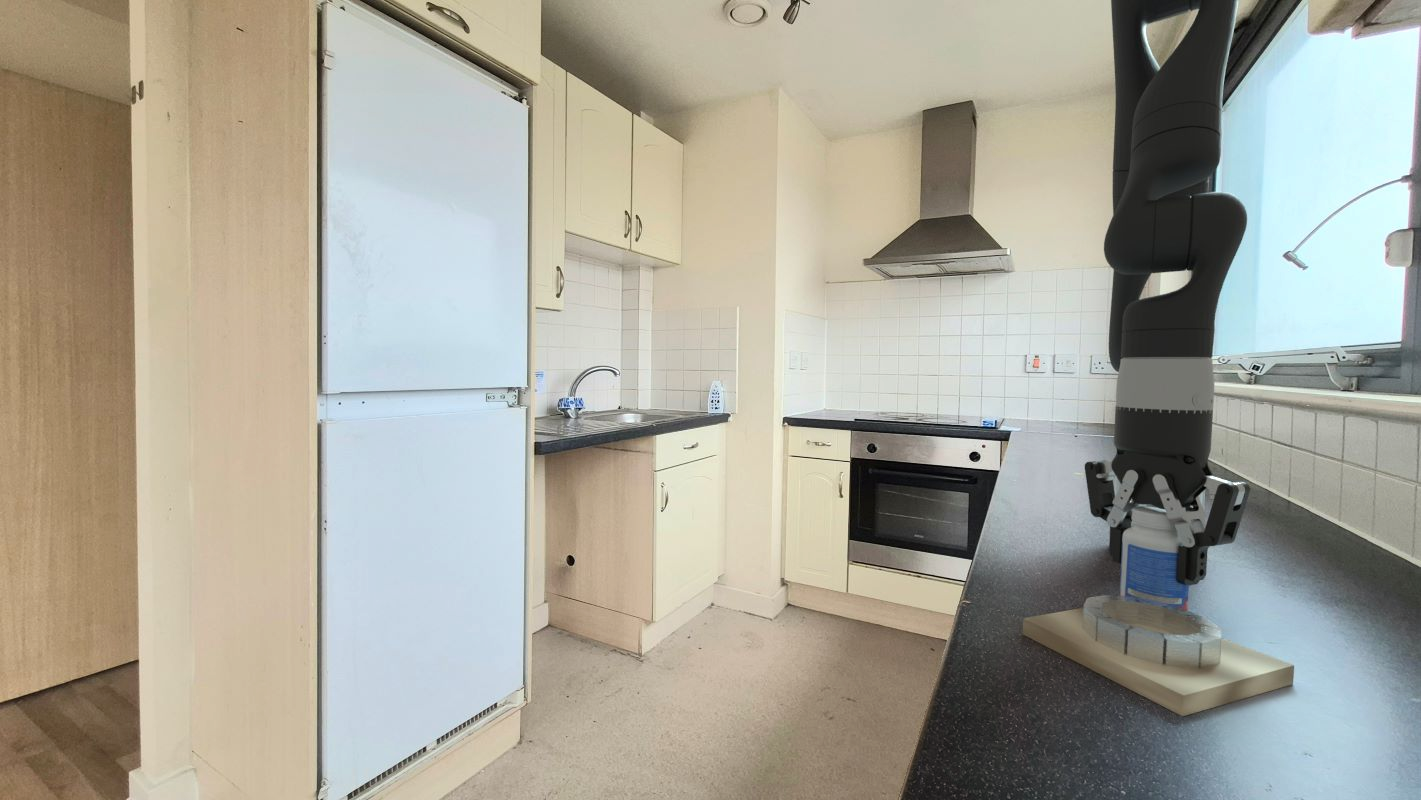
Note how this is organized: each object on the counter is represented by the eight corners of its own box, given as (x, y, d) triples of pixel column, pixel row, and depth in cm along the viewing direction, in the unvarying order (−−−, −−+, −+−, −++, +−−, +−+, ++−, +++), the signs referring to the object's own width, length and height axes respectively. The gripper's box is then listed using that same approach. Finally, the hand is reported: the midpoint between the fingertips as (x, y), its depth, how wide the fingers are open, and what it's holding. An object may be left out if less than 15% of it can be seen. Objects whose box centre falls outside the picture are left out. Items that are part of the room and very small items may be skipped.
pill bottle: (1200, 621, 54) (1207, 519, 53) (1136, 615, 55) (1142, 516, 54) (1166, 598, 59) (1172, 505, 58) (1108, 593, 60) (1113, 503, 60)
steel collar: (1129, 611, 53) (1130, 590, 53) (1246, 656, 45) (1248, 632, 45) (1059, 624, 50) (1060, 602, 50) (1171, 675, 42) (1172, 649, 42)
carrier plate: (1121, 615, 56) (1122, 600, 56) (1292, 684, 44) (1294, 665, 44) (1022, 634, 52) (1023, 618, 52) (1182, 716, 39) (1183, 695, 39)
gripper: (1278, 408, 50) (1266, 595, 51) (1115, 399, 64) (1108, 547, 65) (1225, 410, 48) (1213, 606, 49) (1066, 400, 61) (1060, 554, 62)
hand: (1153, 572), depth 57 cm, fingers closed on pill bottle, 5 cm apart
